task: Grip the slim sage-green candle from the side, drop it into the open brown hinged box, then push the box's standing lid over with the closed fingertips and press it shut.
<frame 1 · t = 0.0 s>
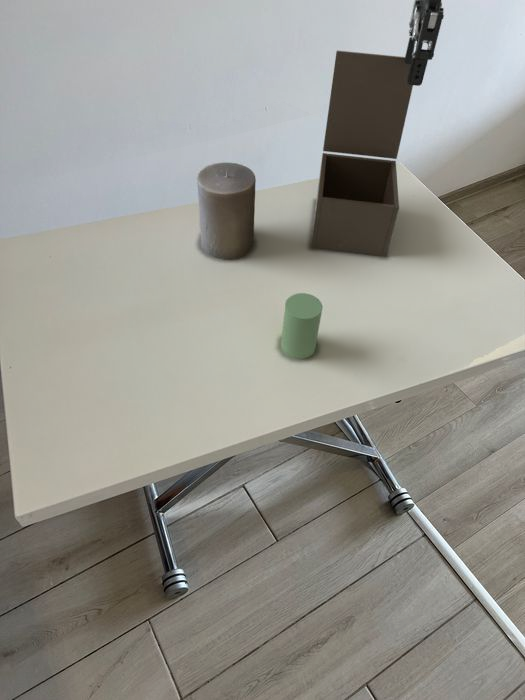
hand: (412, 73, 84), 27 cm above the table, tool pointing down, fingers open, 8 cm apart
pillar candle: (226, 245, 97), on the table
brown hinged box: (348, 229, 101), on the table
brown box lid: (368, 107, 93), point 19 cm above the table, hinge at 100.0°
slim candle: (297, 348, 81), on the table
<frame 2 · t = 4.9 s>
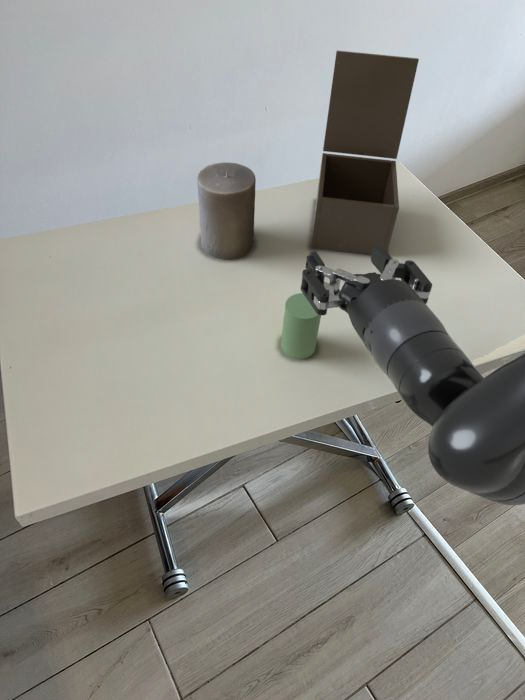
hand: (343, 255, 67), 18 cm above the table, tool horizontal, fingers open, 8 cm apart
nothing on the table moved.
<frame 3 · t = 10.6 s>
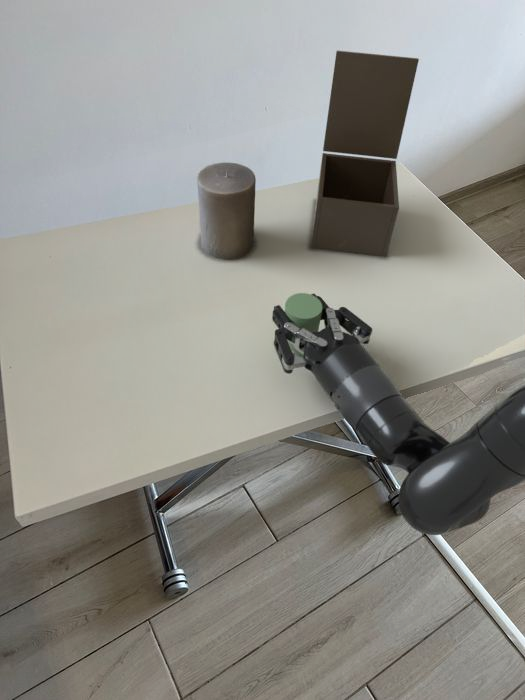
hand: (293, 304, 77), 7 cm above the table, tool horizontal, fingers closed on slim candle, 5 cm apart
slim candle: (297, 348, 81), on the table, touching gripper
everything else where it was.
when the fingers open (16 cm above the table, at t = 20.3 s): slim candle drops 8 cm, resting on brown hinged box.
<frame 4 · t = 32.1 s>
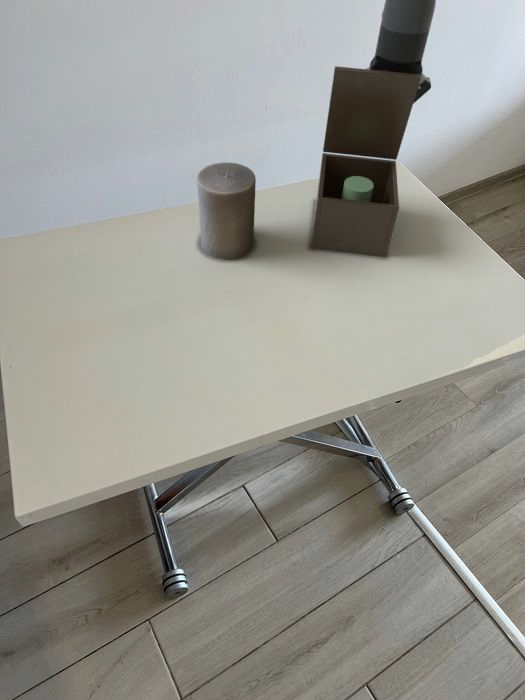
hand: (382, 131, 95), 16 cm above the table, tool pointing down, fingers closed
brown box lid: (367, 116, 91), point 19 cm above the table, hinge at 76.4°, touching gripper
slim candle: (350, 226, 101), point 1 cm above the table, touching brown hinged box
everything else where it was.
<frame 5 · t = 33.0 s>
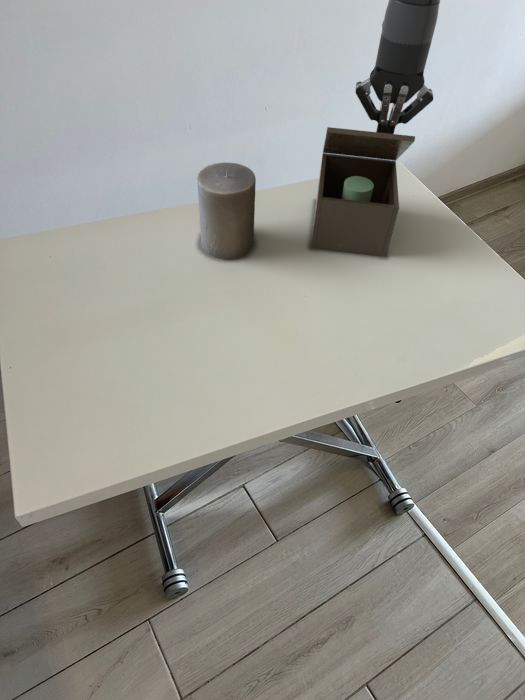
hand: (382, 143, 92), 16 cm above the table, tool pointing down, fingers closed
brown box lid: (364, 145, 90), point 16 cm above the table, hinge at 38.2°
everything else where it was.
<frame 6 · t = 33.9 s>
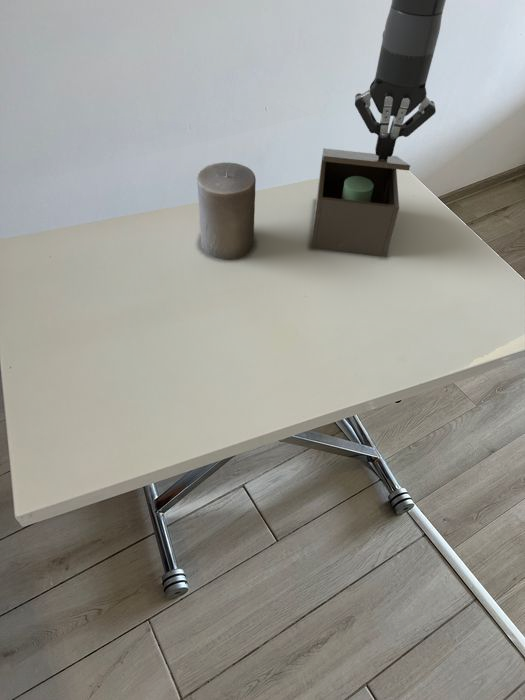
hand: (382, 157, 88), 16 cm above the table, tool pointing down, fingers closed
brown box lid: (362, 158, 91), point 14 cm above the table, hinge at 23.3°, touching gripper
everything else where it was.
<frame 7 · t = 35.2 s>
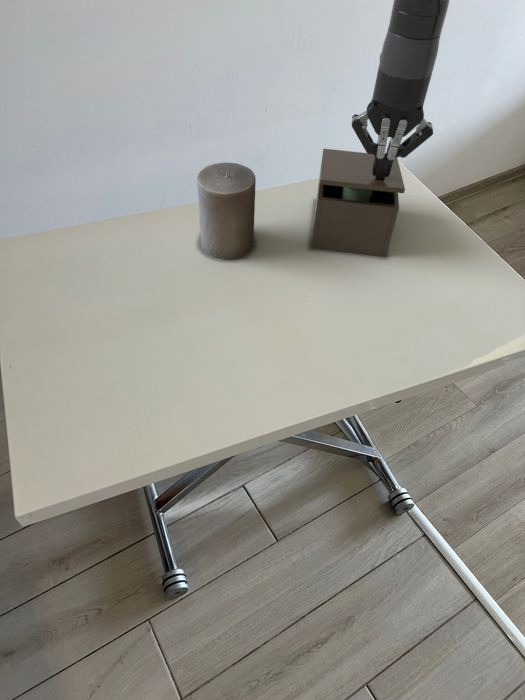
hand: (379, 177, 88), 14 cm above the table, tool pointing down, fingers closed
brown box lid: (360, 169, 92), point 13 cm above the table, hinge at 10.6°, touching gripper
everything else where it was.
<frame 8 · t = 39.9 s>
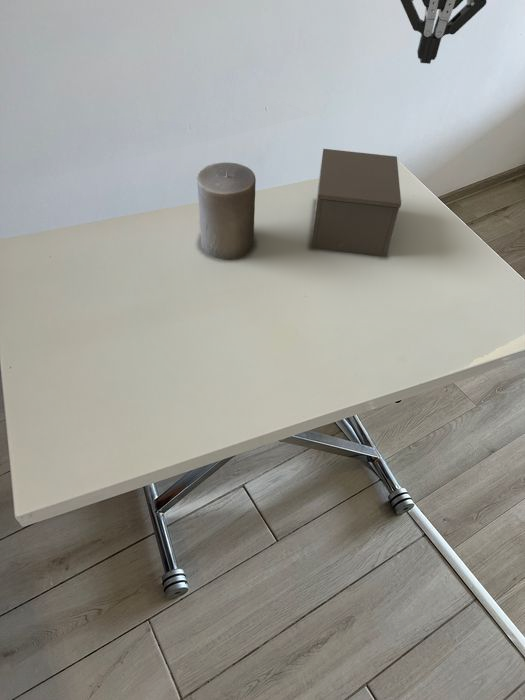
hand: (425, 61, 83), 29 cm above the table, tool pointing down, fingers closed
brown box lid: (359, 176, 93), point 11 cm above the table, hinge at 1.7°
everything else where it was.
at the end: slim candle inside the target area in the brown hinged box (0.3 cm from its centre), point 0.8 cm above the brown hinged box's base; brown box lid at +2° (first picture: +100°) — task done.
